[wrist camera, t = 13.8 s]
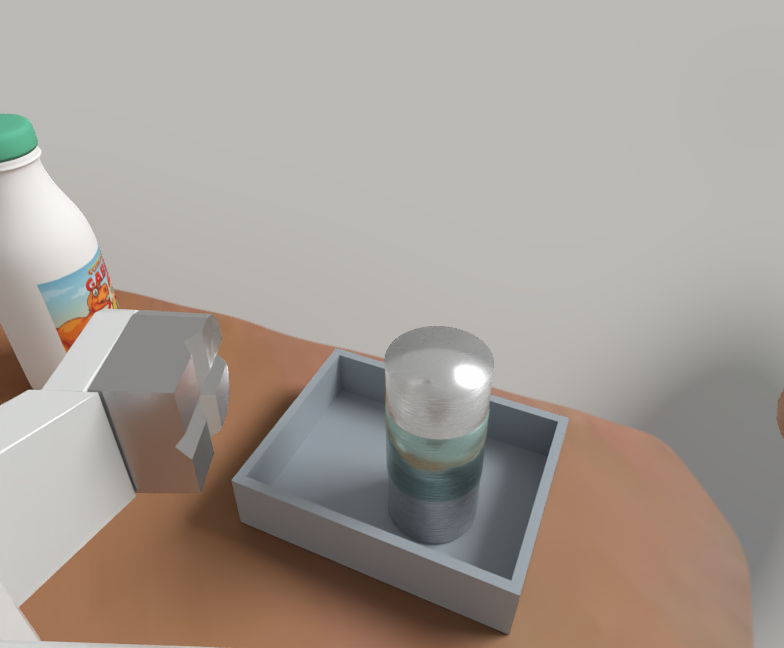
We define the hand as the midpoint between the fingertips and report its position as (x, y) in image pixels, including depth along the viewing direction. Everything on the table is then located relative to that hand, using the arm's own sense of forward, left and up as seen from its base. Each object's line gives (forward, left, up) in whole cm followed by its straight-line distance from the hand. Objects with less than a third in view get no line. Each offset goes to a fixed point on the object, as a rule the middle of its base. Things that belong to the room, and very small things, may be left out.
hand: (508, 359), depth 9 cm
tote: (-8, +17, -28) cm, 33 cm away
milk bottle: (-36, +17, -28) cm, 48 cm away
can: (-6, +16, -27) cm, 32 cm away
